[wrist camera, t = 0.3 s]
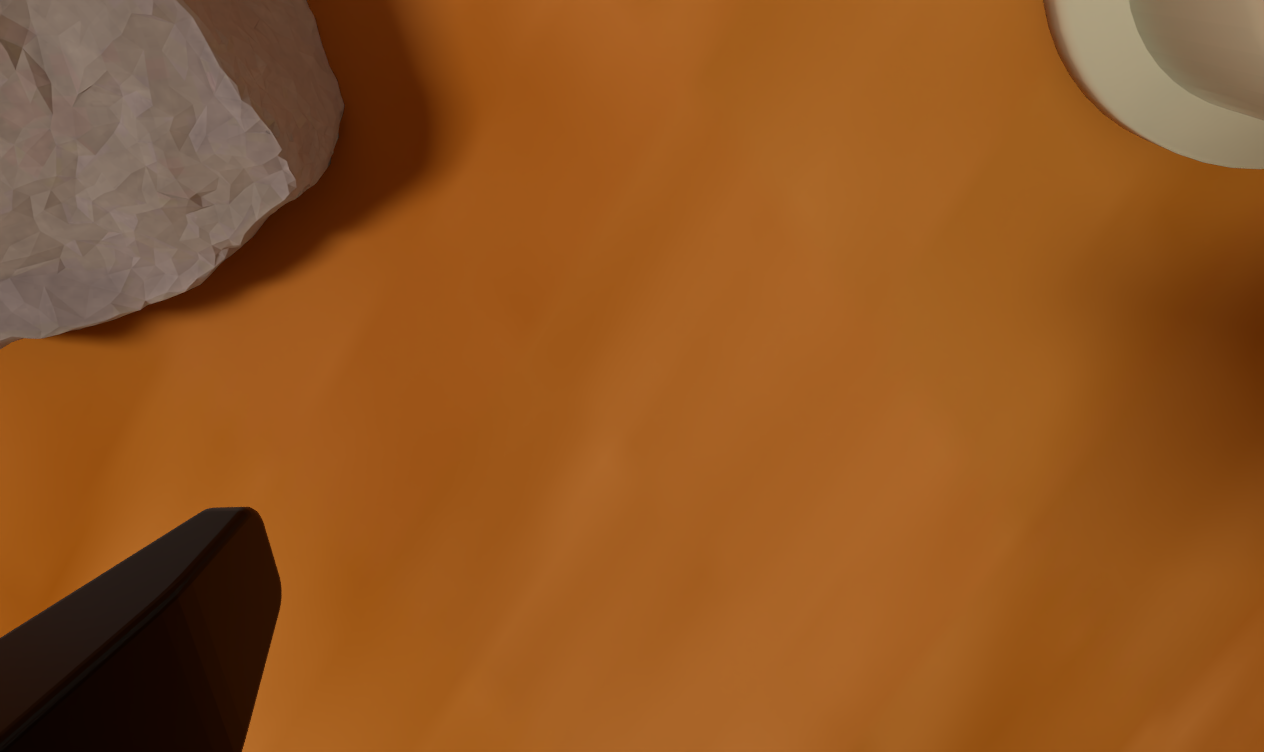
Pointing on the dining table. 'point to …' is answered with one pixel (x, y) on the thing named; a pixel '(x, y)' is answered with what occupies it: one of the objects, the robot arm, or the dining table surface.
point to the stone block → (147, 146)
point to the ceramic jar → (1171, 71)
